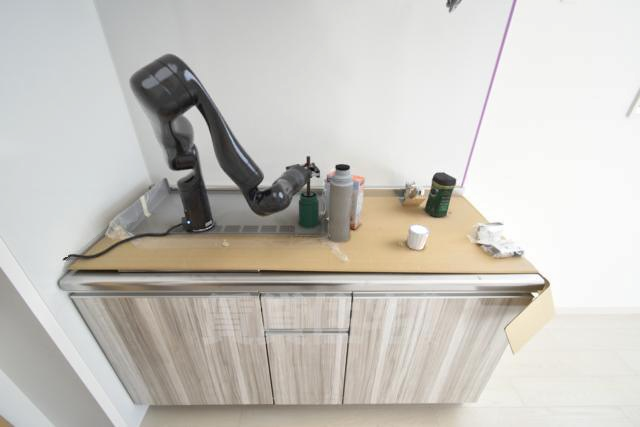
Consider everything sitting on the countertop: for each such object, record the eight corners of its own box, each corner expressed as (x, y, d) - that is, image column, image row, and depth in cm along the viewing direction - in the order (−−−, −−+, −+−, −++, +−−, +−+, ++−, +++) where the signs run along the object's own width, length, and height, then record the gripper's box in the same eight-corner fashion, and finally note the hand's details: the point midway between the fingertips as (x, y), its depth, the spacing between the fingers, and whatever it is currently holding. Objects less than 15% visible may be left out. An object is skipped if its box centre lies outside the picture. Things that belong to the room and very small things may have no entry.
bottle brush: (306, 208, 95) (305, 158, 85) (302, 204, 98) (301, 155, 88) (315, 206, 97) (315, 157, 87) (310, 202, 100) (310, 154, 90)
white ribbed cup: (424, 242, 90) (429, 226, 87) (425, 252, 85) (430, 236, 81) (405, 238, 92) (409, 222, 89) (405, 248, 86) (408, 232, 83)
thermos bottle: (349, 231, 96) (355, 163, 82) (347, 243, 89) (354, 170, 75) (330, 229, 97) (332, 161, 84) (326, 240, 90) (329, 168, 77)
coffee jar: (449, 217, 107) (461, 178, 98) (432, 218, 106) (444, 178, 97) (437, 207, 116) (447, 170, 107) (421, 208, 114) (430, 171, 106)
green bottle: (304, 229, 97) (303, 200, 90) (296, 220, 103) (295, 192, 96) (321, 225, 100) (322, 196, 94) (313, 216, 106) (313, 189, 100)
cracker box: (360, 223, 101) (365, 176, 91) (354, 230, 97) (359, 181, 87) (331, 214, 108) (333, 169, 98) (324, 220, 103) (326, 174, 93)
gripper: (313, 171, 74) (328, 156, 89) (273, 166, 77) (294, 153, 92) (313, 193, 78) (327, 176, 92) (275, 188, 81) (294, 172, 96)
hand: (310, 164), depth 92 cm, fingers closed on bottle brush, 1 cm apart
